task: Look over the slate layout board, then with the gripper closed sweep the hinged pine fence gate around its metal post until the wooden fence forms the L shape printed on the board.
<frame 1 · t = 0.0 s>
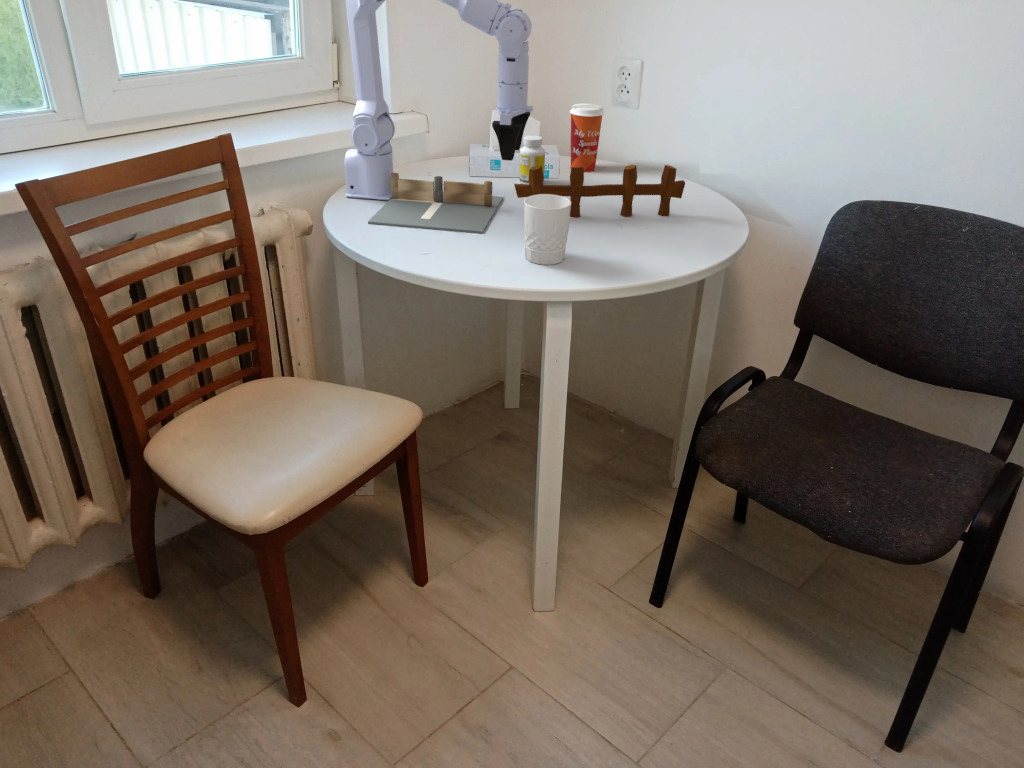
hand: (510, 154, 155), 10 cm above the table, fingers open, 7 cm apart
fence gate: (467, 192, 158), point 3 cm above the table, hinge at 0.0°
paper cup: (582, 169, 185), on the table
fence base: (438, 203, 160), resting on layout board
fence: (597, 217, 157), on the table
white cup: (544, 258, 137), on the table
supplement bottle: (531, 183, 174), on the table
layout board: (438, 210, 156), on the table
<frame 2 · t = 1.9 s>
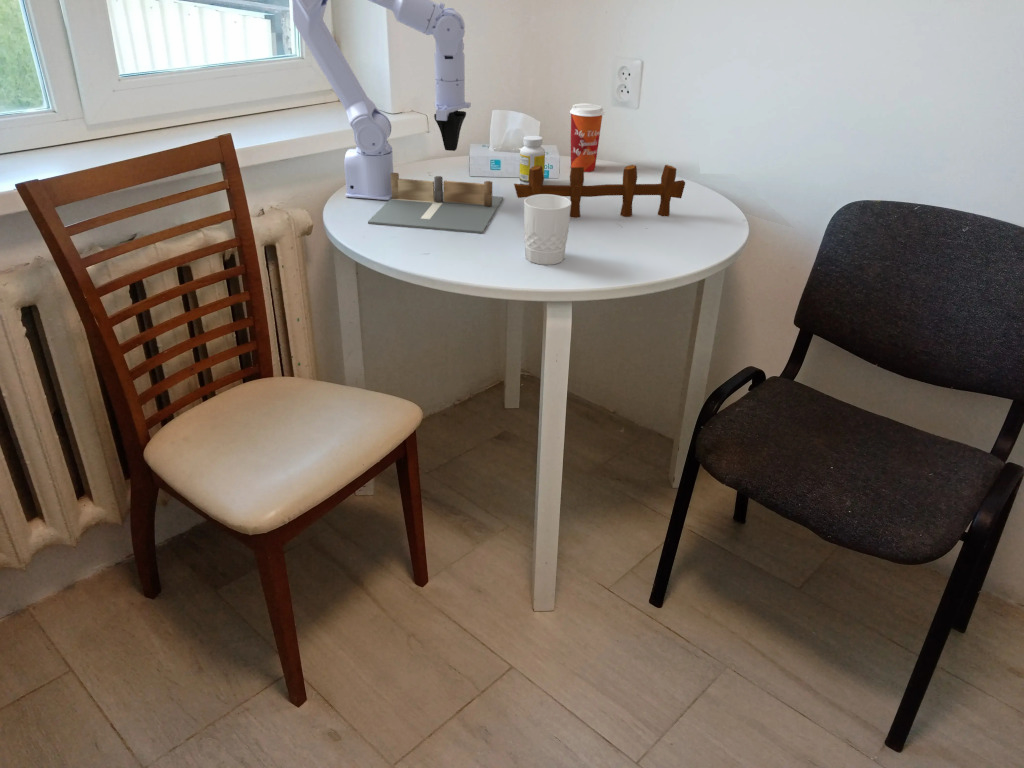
hand: (450, 149, 160), 9 cm above the table, fingers closed
nothing on the table moved.
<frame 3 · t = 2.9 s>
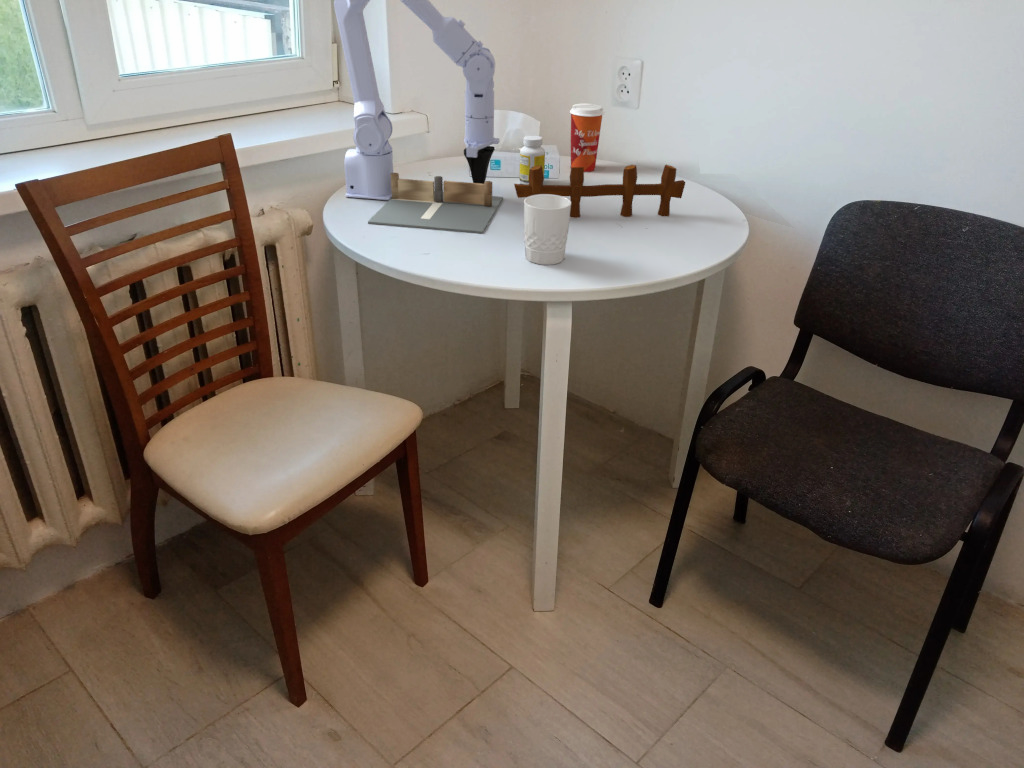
hand: (479, 183, 163), 3 cm above the table, fingers closed
nothing on the table moved.
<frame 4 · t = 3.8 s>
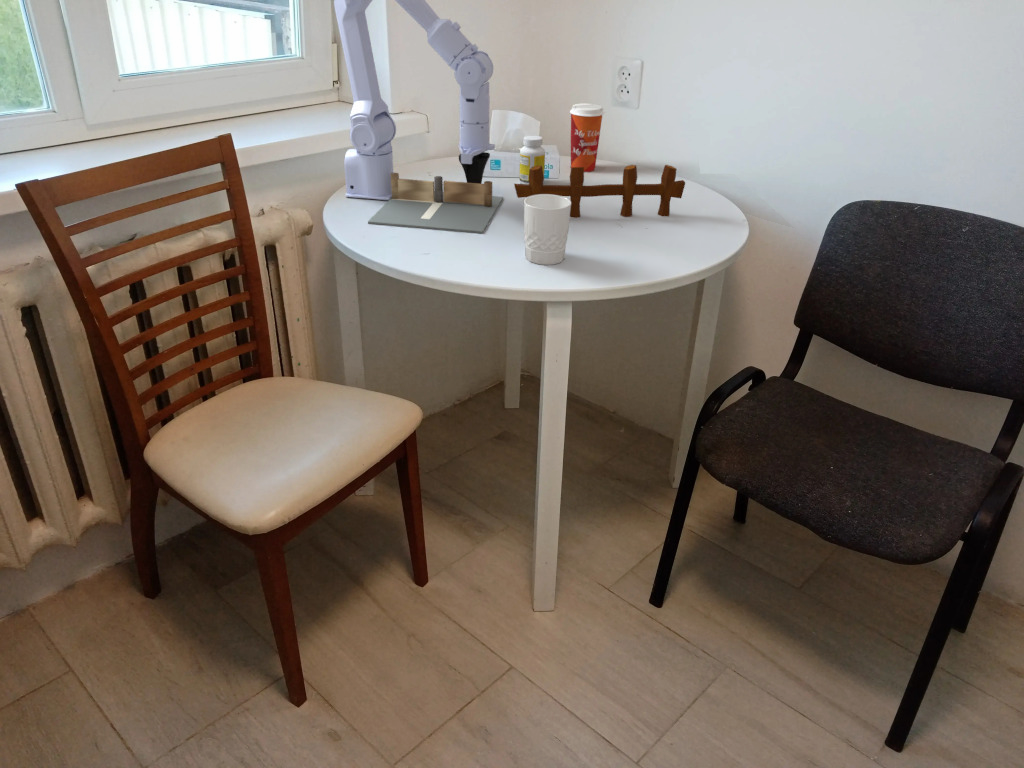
hand: (474, 190, 159), 3 cm above the table, fingers closed
fence gate: (467, 192, 158), point 3 cm above the table, hinge at 0.1°, touching gripper
everything else where it was.
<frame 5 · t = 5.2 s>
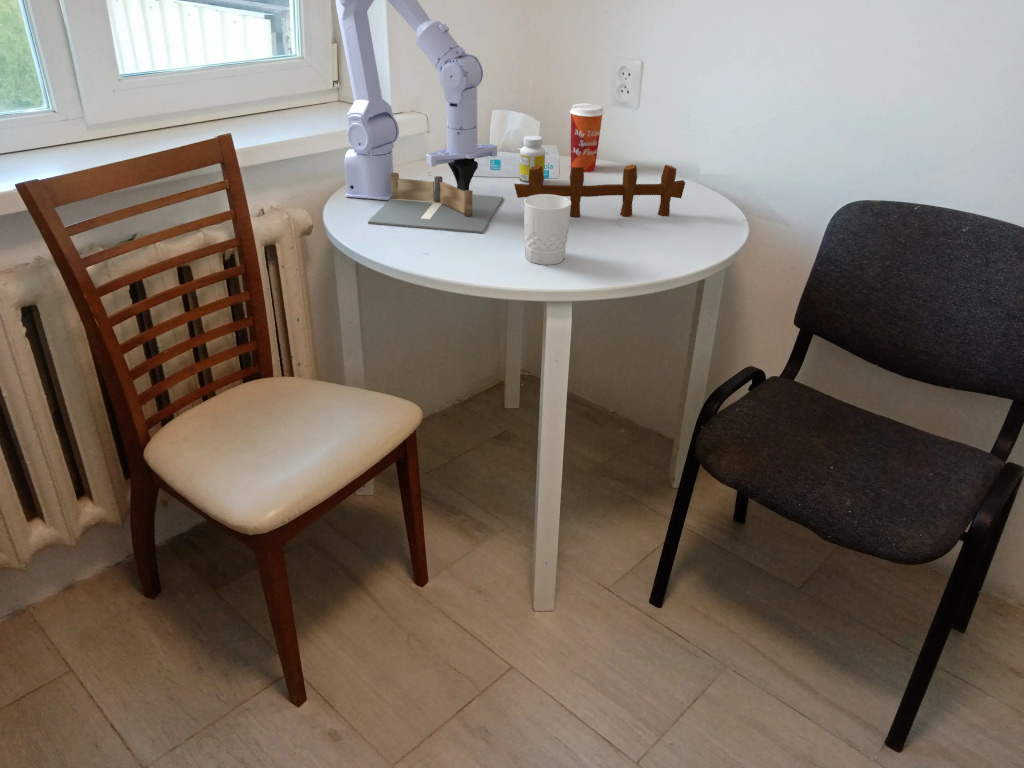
hand: (463, 197, 154), 3 cm above the table, fingers closed, pressing on fence gate
fence gate: (455, 197, 155), point 3 cm above the table, hinge at 41.6°, touching gripper
everything else where it was.
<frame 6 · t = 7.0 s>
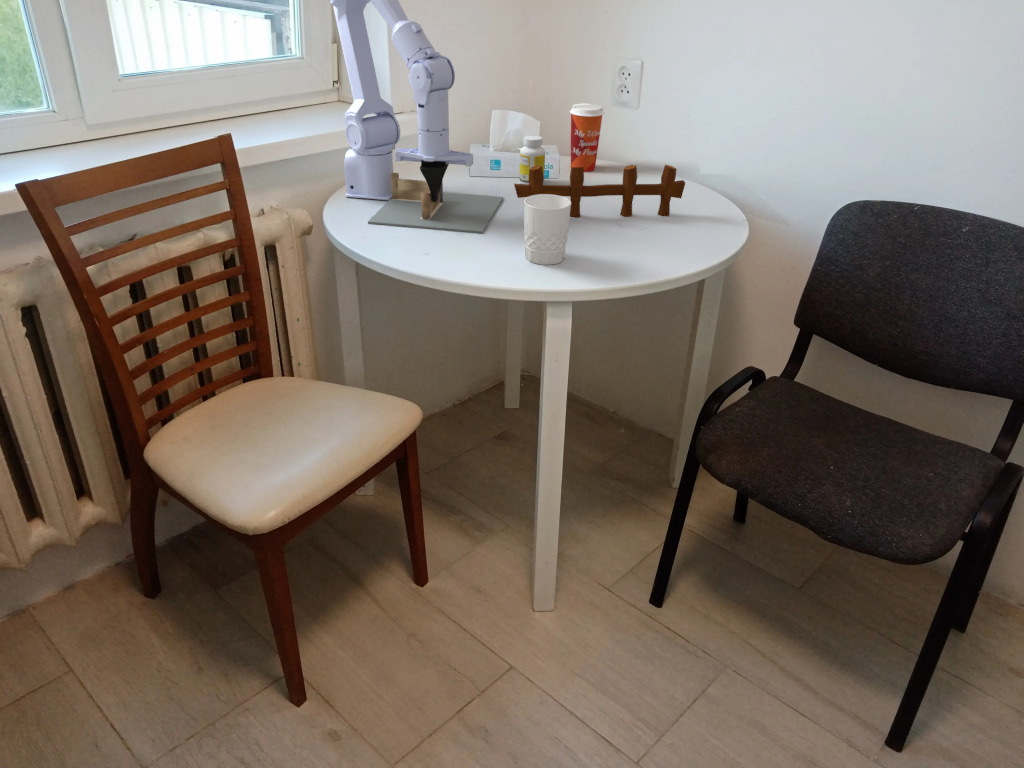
hand: (435, 200, 152), 3 cm above the table, fingers closed
fence gate: (431, 198, 153), point 3 cm above the table, hinge at 89.5°, touching gripper
everything else where it was.
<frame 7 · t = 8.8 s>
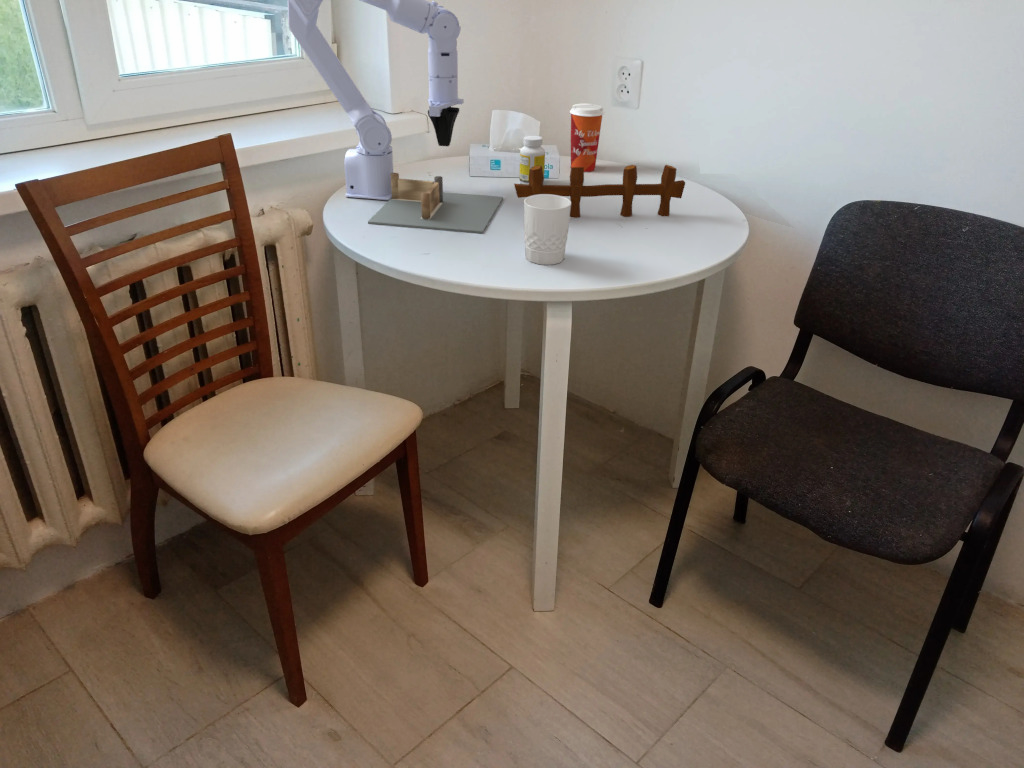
hand: (444, 145, 163), 9 cm above the table, fingers closed
fence gate: (431, 198, 153), point 3 cm above the table, hinge at 89.6°
everything else where it was.
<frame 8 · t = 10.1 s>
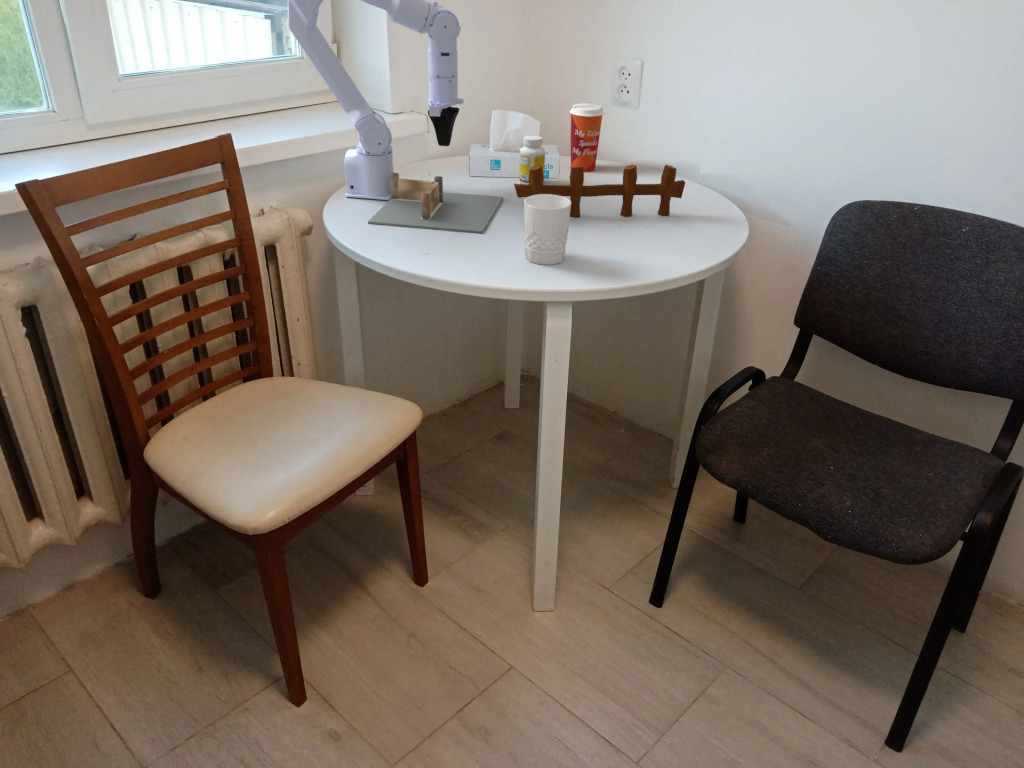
hand: (444, 145, 163), 9 cm above the table, fingers closed
nothing on the table moved.
at the end: fence gate at +90° (first picture: +0°) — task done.
